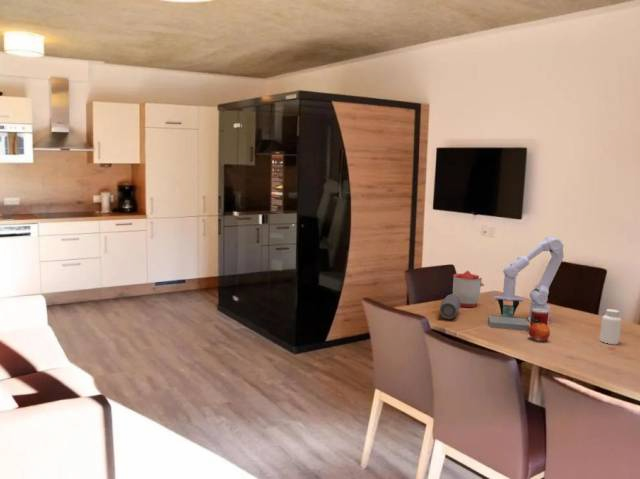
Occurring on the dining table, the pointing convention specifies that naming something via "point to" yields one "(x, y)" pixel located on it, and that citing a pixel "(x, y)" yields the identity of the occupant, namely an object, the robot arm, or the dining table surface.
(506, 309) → the teal block
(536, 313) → the canned food
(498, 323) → the base board
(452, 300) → the bluetooth speaker
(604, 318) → the pill bottle
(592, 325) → the dining table surface
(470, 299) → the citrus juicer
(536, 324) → the tomato
